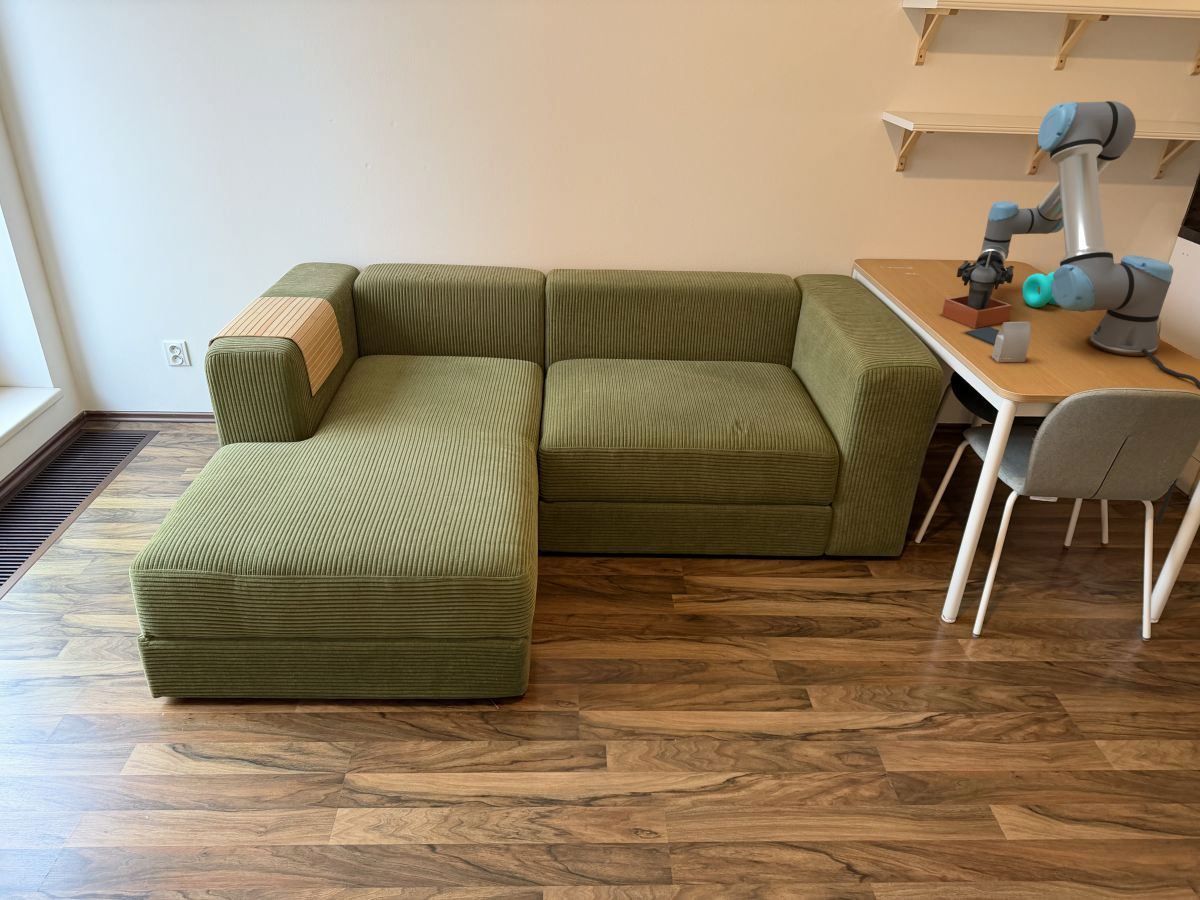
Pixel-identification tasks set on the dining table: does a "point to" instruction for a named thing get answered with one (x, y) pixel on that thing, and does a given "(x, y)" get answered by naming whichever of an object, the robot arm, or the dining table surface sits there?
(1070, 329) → the dining table surface
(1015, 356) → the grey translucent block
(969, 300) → the beverage cup
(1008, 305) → the open reddish-brown box
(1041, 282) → the donuts
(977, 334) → the pad
